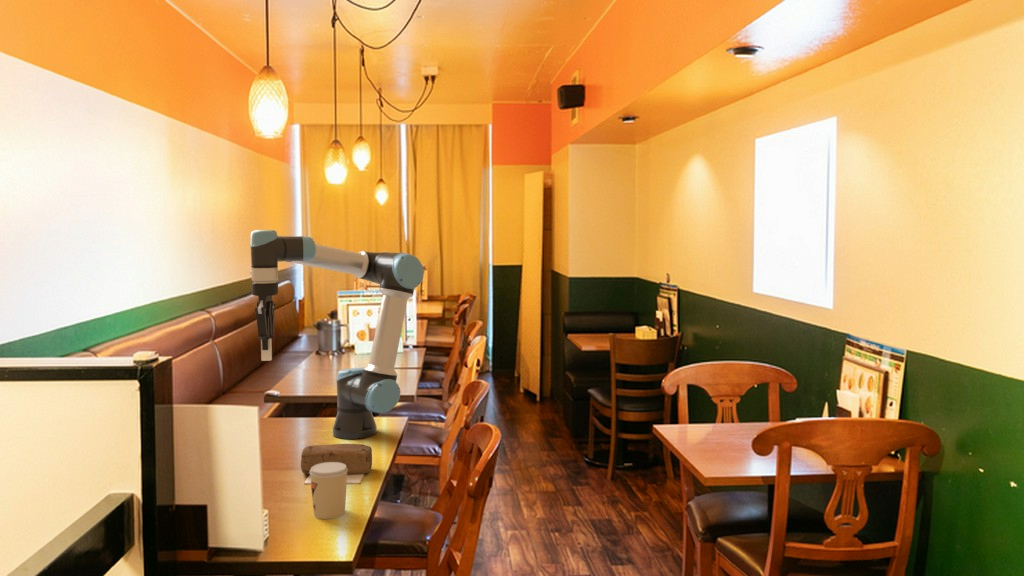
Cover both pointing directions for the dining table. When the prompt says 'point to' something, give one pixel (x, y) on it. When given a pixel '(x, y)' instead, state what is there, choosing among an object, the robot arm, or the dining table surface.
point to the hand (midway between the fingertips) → (266, 360)
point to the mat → (350, 478)
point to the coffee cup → (328, 489)
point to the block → (338, 457)
